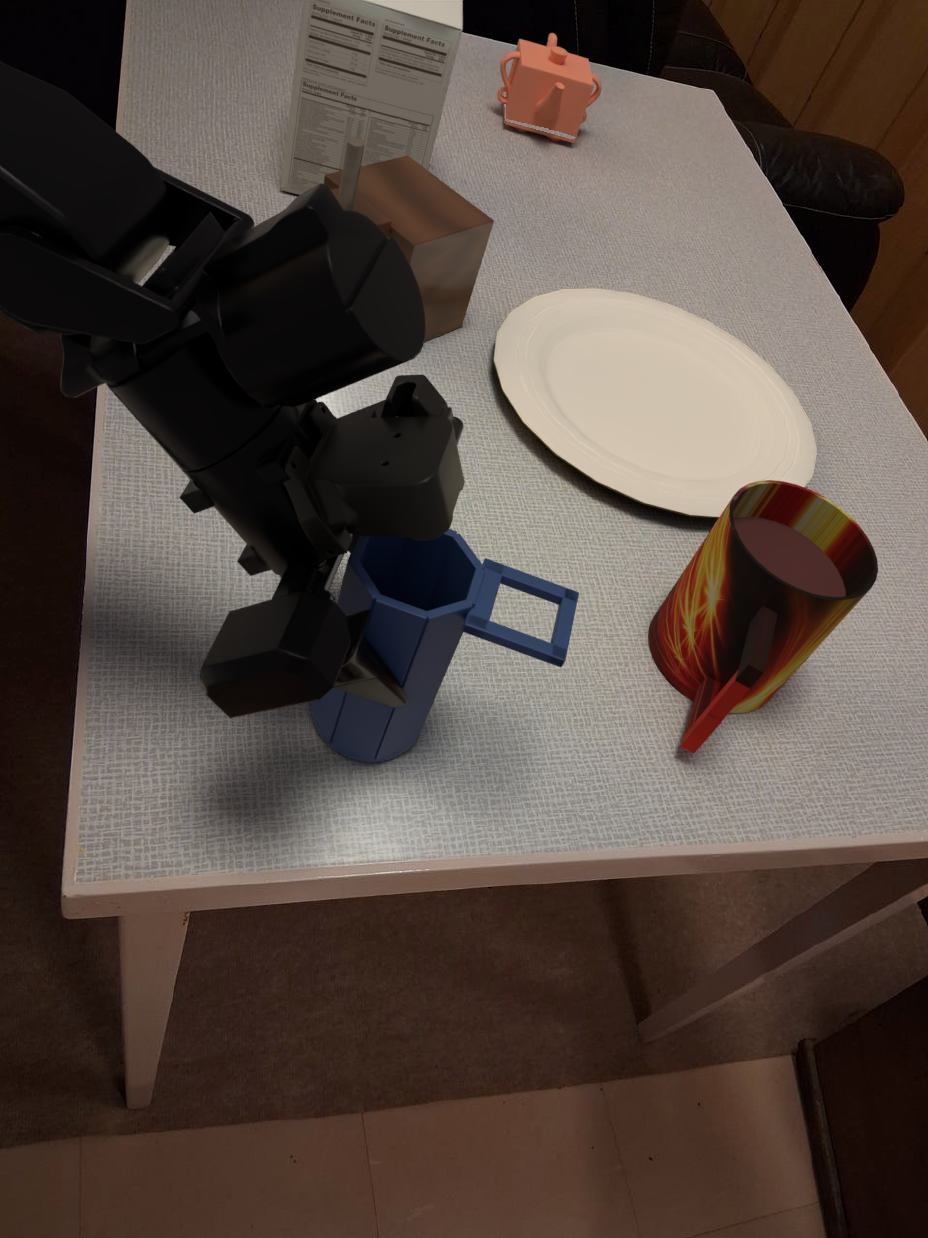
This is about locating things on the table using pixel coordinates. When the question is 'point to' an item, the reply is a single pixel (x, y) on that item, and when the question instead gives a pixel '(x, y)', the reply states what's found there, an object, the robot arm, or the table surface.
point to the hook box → (419, 228)
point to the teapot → (547, 88)
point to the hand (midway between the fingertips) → (416, 654)
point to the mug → (758, 600)
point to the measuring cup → (424, 632)
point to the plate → (650, 399)
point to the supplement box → (368, 83)
